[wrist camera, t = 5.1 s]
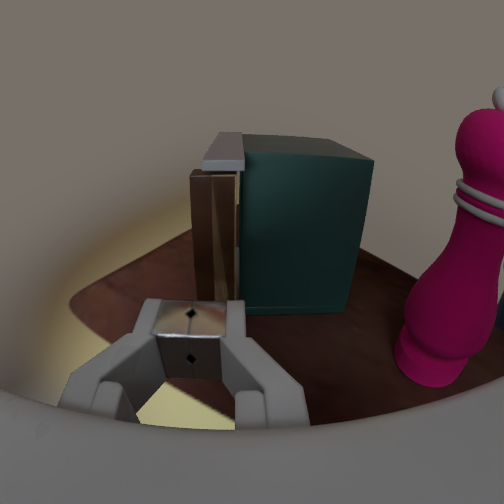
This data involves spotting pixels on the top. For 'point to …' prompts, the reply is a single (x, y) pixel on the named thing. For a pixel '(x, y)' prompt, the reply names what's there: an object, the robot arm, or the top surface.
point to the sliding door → (214, 233)
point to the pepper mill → (461, 262)
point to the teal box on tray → (294, 219)
